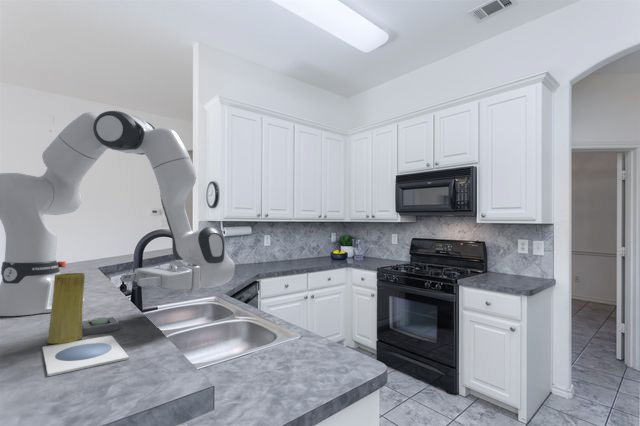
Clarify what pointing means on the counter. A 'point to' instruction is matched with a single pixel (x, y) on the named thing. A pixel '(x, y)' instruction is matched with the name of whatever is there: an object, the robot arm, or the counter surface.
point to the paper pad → (82, 354)
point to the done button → (99, 321)
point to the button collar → (99, 327)
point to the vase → (66, 308)
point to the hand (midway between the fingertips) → (130, 280)
